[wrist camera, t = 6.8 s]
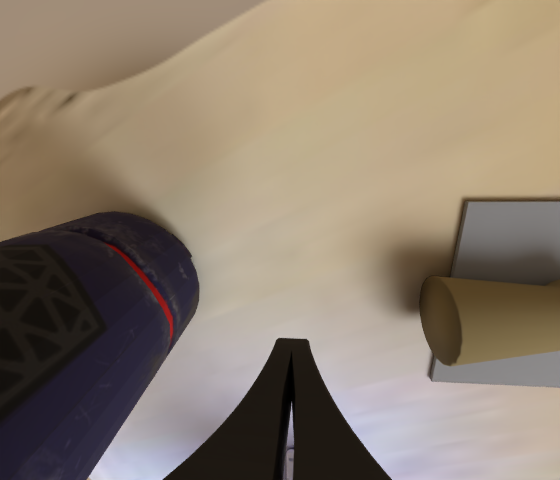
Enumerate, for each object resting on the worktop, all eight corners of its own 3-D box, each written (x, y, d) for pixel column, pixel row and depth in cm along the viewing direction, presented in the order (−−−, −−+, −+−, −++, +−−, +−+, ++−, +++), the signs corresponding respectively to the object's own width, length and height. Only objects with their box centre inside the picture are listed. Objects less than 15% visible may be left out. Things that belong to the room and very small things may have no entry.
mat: (574, 384, 23) (578, 388, 23) (429, 377, 24) (431, 381, 24) (651, 200, 18) (658, 201, 18) (465, 201, 19) (468, 202, 19)
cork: (460, 388, 16) (664, 388, 15) (464, 293, 15) (681, 287, 14) (418, 337, 22) (563, 335, 21) (420, 266, 21) (571, 260, 20)
